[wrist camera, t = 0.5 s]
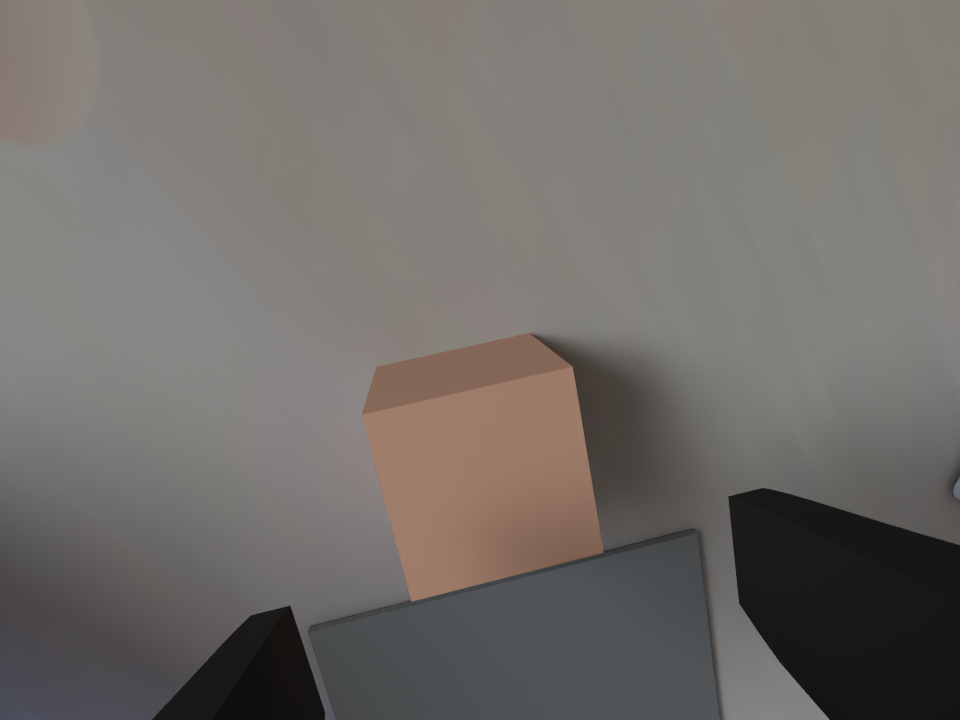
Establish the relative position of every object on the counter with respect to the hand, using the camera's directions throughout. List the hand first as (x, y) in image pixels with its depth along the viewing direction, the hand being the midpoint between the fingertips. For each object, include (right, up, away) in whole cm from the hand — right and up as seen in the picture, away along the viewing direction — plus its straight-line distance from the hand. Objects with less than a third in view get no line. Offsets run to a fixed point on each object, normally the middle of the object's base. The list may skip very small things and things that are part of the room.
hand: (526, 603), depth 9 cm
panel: (+2, -10, +12) cm, 16 cm away
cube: (-1, +2, +9) cm, 10 cm away
